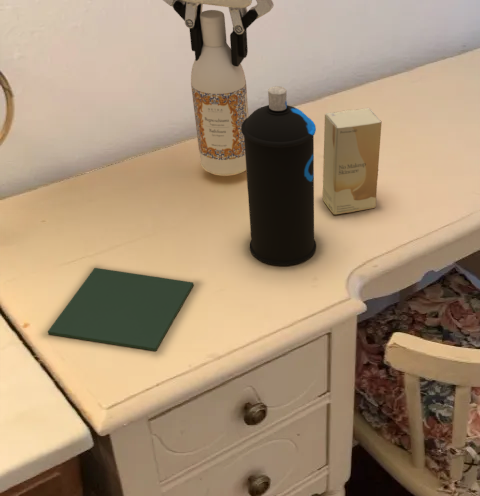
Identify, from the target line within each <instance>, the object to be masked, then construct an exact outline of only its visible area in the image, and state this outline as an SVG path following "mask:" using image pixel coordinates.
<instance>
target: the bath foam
mask: <svg viewBox="0 0 480 496" xmlns="http://www.w3.org/2000/svg"><path fill="white" fill-rule="evenodd" d="M225 19H226V17H225V14H224V12H223V11H221V10H218V9H208V10H204V11H203V10H202V13H201V14H200V21H201V30H202V39H203V46H202V51H201V55H200V57H199V59H198V60H197V61H196V59H194V61H193V64H192V66H191V71H190V72H191V73H190V87H191V94H192V103H193V112H194V122H195V129H196V137H197V144H198V152H199V153H198V154H199V161H200V162H199V163H200V165H201V167H202V168H203V170H204V171H205V172H207V173H209V174H211V175H215V176H224V177H225V176H227V177H228V176H235V175H239V174H242V173H243V172H245V171H246V156H245V142H244V135H243V133H242V131H241V126H242V123H243V122H244V121H245V119H247V118H248V117H249V116H250V115H249V104H248V103H249V102H248V89H247V80H246V75H245V70H244V69H243V65H242V62H241V63H240V65H239V66H238V67H237V66H233V65H232V58H231V46H229V44H228V42H227V29H226V20H225Z"/></svg>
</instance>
